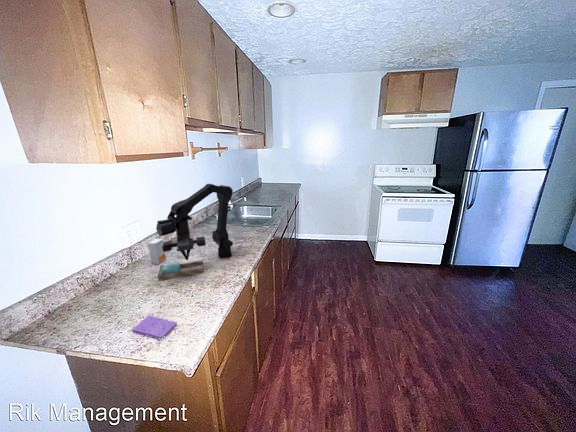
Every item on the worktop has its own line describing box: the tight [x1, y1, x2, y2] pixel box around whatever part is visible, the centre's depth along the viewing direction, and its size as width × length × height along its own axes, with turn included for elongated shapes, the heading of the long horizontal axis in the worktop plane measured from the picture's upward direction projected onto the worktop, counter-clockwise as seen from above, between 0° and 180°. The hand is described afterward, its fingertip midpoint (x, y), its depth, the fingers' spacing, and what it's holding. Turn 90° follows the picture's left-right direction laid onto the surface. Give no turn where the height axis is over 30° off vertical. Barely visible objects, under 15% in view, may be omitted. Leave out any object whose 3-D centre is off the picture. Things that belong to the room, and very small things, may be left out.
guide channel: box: [157, 259, 205, 282], centre depth 114 cm, size 20×9×3 cm, turn 111°
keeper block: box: [162, 262, 182, 275], centre depth 113 cm, size 7×5×4 cm
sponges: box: [131, 314, 178, 339], centre depth 79 cm, size 7×13×2 cm, turn 73°
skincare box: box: [148, 238, 167, 265], centre depth 123 cm, size 6×4×12 cm
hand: (187, 259), depth 114 cm, fingers closed
